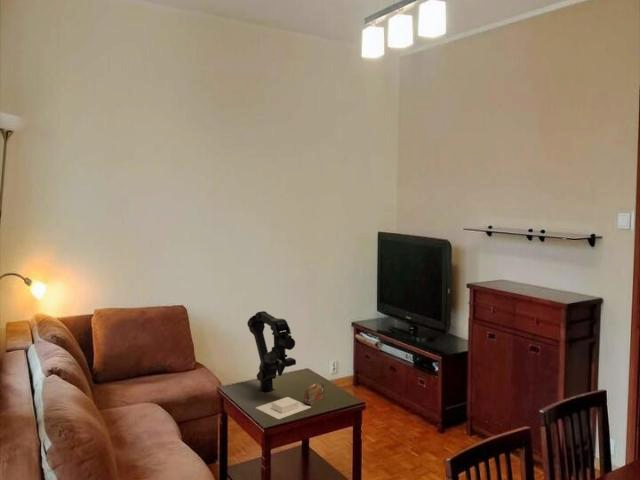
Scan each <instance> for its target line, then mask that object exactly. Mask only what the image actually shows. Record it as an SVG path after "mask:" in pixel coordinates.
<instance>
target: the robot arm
mask: <svg viewBox="0 0 640 480" xmlns="http://www.w3.org/2000/svg"><path fill="white" fill-rule="evenodd" d="M265 324H266V325H268V326H269V327H270V330H271V331H272V332H271V334H272V336H273V346H271V351H268V347H267V342H266V339H265V336H264V330H265ZM247 327H248V329H249V331H250V333H251V334H252V335H253V337H254V340H255V343H256V349H257V354H258V356H259V361H260V364H259V366H258V370H259V371H258V372H257V374H256V380H257V381H259V382H260V383H259V384H260V385H259V386H260V388H258V389H257V390H258V391H259V392H262V393H264V394H267V393H270V392H273V391H275V390H276V389H275V388H273V387H274V383H273V379H276V377H277V375H278V376H279V377H281V376H282V375H283V372H285V371H284V370H285V368H288V367H292V366H296V365H297V360H296V358H293V357H288V354H286V350H288V351H291V350H293V349H294V348H295V346H296V341H295V339H294V338H293V336H292V335H291V334H292V332H291V328H290V326H289V324H288V322H287V320H286V319H284V318H277V317H275V316H273V315H272V314H270V313H268V312H267V311H264V310H263V311H258V312H256V313H255V314H254V315H252V316H250V318H249V319H248V321H247ZM287 357H288V358H287Z"/></svg>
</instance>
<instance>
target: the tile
mask: <svg viewBox="0 0 640 480" xmlns="http://www.w3.org/2000/svg"><path fill="white" fill-rule="evenodd" d="M283 398H284V399H282V398H280V399H281V400H280V399H277V400H278V401H277V400H274V401H275V402H274V401H271V402H272V409H274V410H276V411H278V412H280V413H285V412H288V411H291V410H293V409H296V408H298V407H299V402H300V401H298V400H296V399H294V398H292V397H289V396H287V398H285V397H283ZM291 398H292V399H291ZM293 399H294V400H293Z"/></svg>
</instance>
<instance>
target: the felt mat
mask: <svg viewBox="0 0 640 480" xmlns="http://www.w3.org/2000/svg"><path fill="white" fill-rule="evenodd" d="M287 397H288V396H287ZM287 397H286V396H285V397H282V398H280V399H277V400H274V401H270V402H268V403H265V404H261V405H259V406H256V407H255V409H256V410H259V411H261V412H263V413H265V414H267V415H269V416H271V417H273V418H275V419H277V420H281V419H283V418H286V417H289V416H293V415H294V414H297V413H299V412H300V413H301V412H303V411H306V410H308V409H311V408H312V406H310V405H309V404H306V403H303V402H301V401H298V402H299V407H298V408H296V409H293V410H291V411H288V412H285V413H280V412H278V411H276V410H274V409H272V402H275V401H278V400H281V399H284V398H287ZM290 398H291V399H293V400H295V399H294V398H292V397H290Z"/></svg>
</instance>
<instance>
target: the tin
mask: <svg viewBox="0 0 640 480" xmlns="http://www.w3.org/2000/svg"><path fill="white" fill-rule="evenodd" d="M324 394H325V386H324V384H323V382H315V383H313V384H312V385H310V386H309V387H307V388H306V390H305V391H304V402H305V405H309V406H310V405H311V406H312V405H313V404H314V403H316V402H319V400H322V399H323V397H324Z"/></svg>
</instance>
